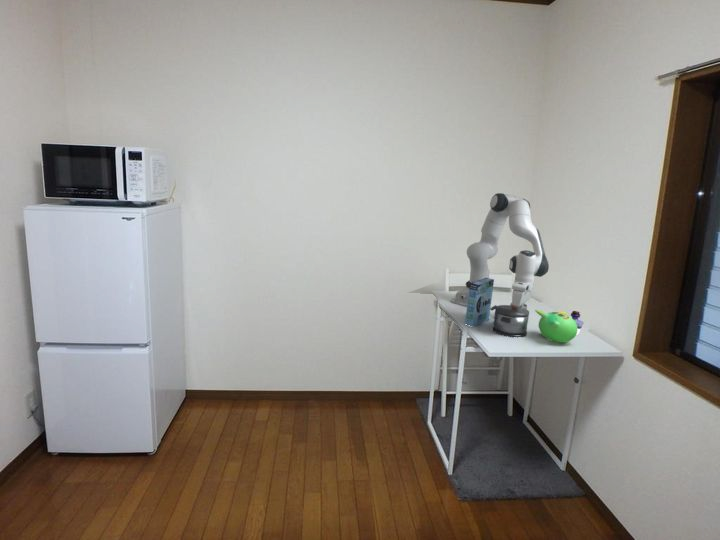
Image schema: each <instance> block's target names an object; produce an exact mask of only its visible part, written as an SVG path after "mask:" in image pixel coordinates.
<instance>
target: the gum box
mask: <svg viewBox="0 0 720 540" xmlns="http://www.w3.org/2000/svg"><path fill="white" fill-rule="evenodd" d="M494 284H495V279H494V278H490V277H489V278H484V279H481V280H478V281H475V282H471V283H470V287H469V295H468V303H467V307H466V312H465V319H464V320H465V323H464V325H465V324H467V325H470V326H474V327H476V326H478V325H481V324H482V322H483V323H484V322H487V321H488V320H490V315H491V310H490V308H492V306H491V305H492V300H493V299H492V298H493V292H494V291H493V290H494ZM467 325H466V326H467ZM470 326H469V327H470Z"/></svg>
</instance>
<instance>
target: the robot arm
mask: <svg viewBox="0 0 720 540" xmlns="http://www.w3.org/2000/svg"><path fill="white" fill-rule="evenodd" d="M489 204H490V205H489V206H490V209H489V211H488V214H487V216H486V217H485V220H484V222H483V224H482V227H481V230H480V232H481V237H480V240H479V241H478V242H474V243H471V244H470V245H469V246H468V247H467V249H466V256H467V258H468V259H469V264H470V274H469V280H467V281H466V283H465V287H463V288H461V289H460V290H457V292H456V293H455V295H454V297H453V298H452V299H450V303H452V304H456V305H459V306H463V307H466V308H467V303H468V295H469V287H470V283H471V282H475V281H478V280H481V279H484V278H490V269H489V266H488V260H490V259H493V258H494V257H495V256H497V254H498V250H499V249H498V243H499V239H500V235H501V234H502V231H503V229H504V226H505V224H506V222H507V219H508V226H509V230H510V231H511V233H513V234H514V235H515V236H517V237H520V238H522V239H524V240H526V241H528V242H529V243H531V246H532V250H533V251H531V250H521V251H519V253H518V254H517V255H516V254H515V255H513V256H512V257H511V258H510V259H509V267H508V269H509V270H510V271H511V273H513V274H515V276H514V281H513V282H514V283H513V284H512V286H511V289H512V295H511V296H512V297H511V298H512V299H511V303H512V305H514V306H518V312H522V311H523V307H524V304H526V302H528V301H530V300H531V294H532V290H533V289H534V282H535V277H543V276H545V275H546V274H547V273H548V272H549V267H550V266H549V261H548V259H547V256H546V253H545V249H544V244H543V240H542V237H541V233H540V231H539V229H538V228H537V227H536V226H535V225H534V224H533V221H532V214H531V204H530V201H529V200H527V199H525V198H521V197H520V196H519V197H518V196H515V195H510V194H506V193H505V194H504V193H502V192H497V193H494V195H493V196H492V198H491V199H490V203H489Z"/></svg>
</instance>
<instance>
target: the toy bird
mask: <svg viewBox="0 0 720 540" xmlns="http://www.w3.org/2000/svg"><path fill="white" fill-rule="evenodd" d="M534 311H535V313H536V314H538V315H539V317H540V319H539V321H538V329H539V332H540V333H541V335H543V337H545V338H546V339H548V340H549V341H552V342H555V343H567V342H570V341H572V340H574V338H575V337H576V334H577V330H578V329H577V325H576V323H575V321H574V320H573V319H572V316H571V315H568V314H567V311H551V312H548V313H547V312H545V311H542V310H538V309H535V310H534Z"/></svg>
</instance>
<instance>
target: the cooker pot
mask: <svg viewBox="0 0 720 540" xmlns="http://www.w3.org/2000/svg"><path fill="white" fill-rule="evenodd" d="M529 316H530V315H529ZM529 316H528V317H522V318H518V317H509V316H505V315H501V314H499V313H497V312H496V311H494V317H493V325H492V332H494V333H495V334H497V333H498V334H497V335H499V334H500V335H499V336H502V335H504V336H503V337H507V336H508V337H509V338H514V337H517V338H518V337H521V338H525V337H526V336H528V335H527V334H528V332H527V330H528V325H529V324H528V323H529ZM508 337H507V338H508Z"/></svg>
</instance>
